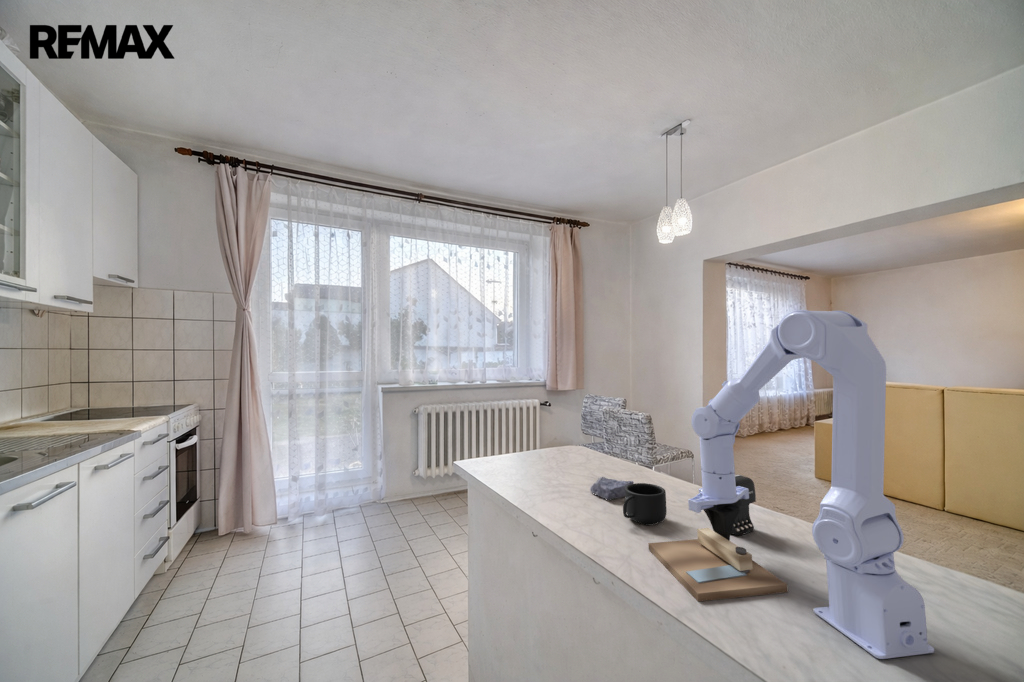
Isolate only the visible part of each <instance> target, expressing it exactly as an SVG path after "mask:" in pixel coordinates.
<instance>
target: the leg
mask: <svg viewBox="0 0 1024 682" xmlns="http://www.w3.org/2000/svg"><path fill="white" fill-rule="evenodd" d="M696 532H697V539H698V542H699V543H701V544H702V545H703V546H705V547H706V548H708V549H709V550H711V551H712V552H713V553H715V554H716V555H718V556H719V557H721V558H722V559H723V560H725V561H726V562H728V563H729V564H731V565H732V566H734V567H735V568H736V569H738V570H739V571H744V570H751V569H753V566H752V560H753V556H752V555H753V554H751V553H750V552H749V551H747V549H746V548H745V547H742V546H738V545H737V544H735V543H734V542H732V541H729V540H727V539H726V538H724V537H723V536H721V535H719V534H718V533H716V532H714V531H713V529H711V528H710V527H704V528H702V527H701V528H697V531H696Z"/></svg>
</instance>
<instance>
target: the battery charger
mask: <svg viewBox="0 0 1024 682" xmlns="http://www.w3.org/2000/svg"><path fill="white" fill-rule="evenodd" d="M735 482H736V487H737V486H741V487H744V488H748V490H749V499H743V498H742V499H739V500H738V501H737V502H735V503H732V504H733V505H736V506H739V509H740V512H739V514H738V515H737V517H736V519H735V521H734V523H733V526H732V530H731V534H730V535H733V536H734V535H735V536H741V535H745V534H749V533H750V532H753V531H754V530H755V525H754V524H753V522H752V520H751V515H750V504H754V503H756V502H757V500H756V499H757V497H756V488H755V483H754V481H753V480H752V478H750V477H748V476H744V475H742V474H735Z"/></svg>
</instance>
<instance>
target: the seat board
mask: <svg viewBox="0 0 1024 682" xmlns="http://www.w3.org/2000/svg"><path fill="white" fill-rule="evenodd" d="M648 550H649V552H651V553H652V555H653V556H654V557H656V559H657V560H658V561H659V562H660V563H661V564H662V565H663V566H664V568H666V570H667V571H669V573H671V575H672V576H674V578H675V579H676V580H677V581H678V582H679V583H680V584H681V585H682V586H683V587H684V588H685V589H686V591H688V592H689V594H690V595H691V596H693V598H695V600H696V601H697V602H706V601H716V600H717V601H718V600H725V599H733V598H734V599H735V598H745V597H753V596H754V597H755V596H764V595H775V594H782V593H783V594H785V593H788V591H789V590H788V584H787V583H786V582H784V581H783V580H782V579H780V578H779V577H777V576H776V575H775V574H773V573H772V572H770V571H769V570H767V569H766V568H765V567H763V566H761V564H760V563H757V561H755V560H754V559H752V566H753V569H751V570H744V571H739V570H738V569H736V568H735V567H734V566H732V565H731V564H729V563H728V562H726V561H725V560H723V559H722V558H721V557H719V556H718V555H716V554H715V553H713V552H712V551H711V550H709V549H708V548H706V547H705V546H703V545H702V544H701V543H699V542H698V538H696V539H694V538H693V539H685V540H684V539H682V540H671V541H659V542H649V543H648Z"/></svg>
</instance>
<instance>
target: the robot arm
mask: <svg viewBox="0 0 1024 682" xmlns="http://www.w3.org/2000/svg"><path fill="white" fill-rule="evenodd" d="M868 326H869V325H868V324H867V323H866V322H865V321H863V320H861V319H860V318H858V317H857V316H856V315H853V314H851V312H847V311H844V310H831V311H829V310H809V309H795V310H792V311H790V312H788V313H786V314H785V315H784V316H783V317H782V318H781V320H780V321H779V324H777V325H776V326H774V327H773V328H772V329H771V331H770V337H769V340H768V341H767V342H766V344H765V345H764V346H763V348H762V349H761V351H759V353H758V354H757V356H756V357H755V358H754V360H752V362H751V364H750V365H749V366H748V368H747V369H746V370H745V371H744V373H743V374H742V375H741V377H740V378H739V377H738V378H736V377H734V378H730V379H729V380H725V381H723V383H722V384H721V386H722V388H721V389H720V390H719V391H718V393H717V394H716V395H715V396H714V397H713V398H711V399H709V401H708V404H707V405H706V406H702V407H700V406H699V407H697V408H695V409H694V412H693V413H692V416H691V427H692V429H693V431H694V433H695V434H696V436H698V439H699V452H700V453H699V455H700V468H701V469H700V470H701V471H700V472H701V486H702V487H700V488H698V494H696V495H695V496H693V497H691V498H688V499H687V502H688V503H687V504H688V510H689V511H690V512H691V511H692V512H694V513H695V514H701V513H702V511H703V512H704V514H705V515H706V516H707V518H708V520H709V523H710V525H711V527H712V530H713V531H714V532H716V533H718V534H719V535H721V536H723V537H724V538H726V539H727V540H729V541H730V540H731V535H732V534H731V530H732V526H733V523H734V521H735V519H736V517H737V515H738V514H739V512H740V509H739V506H736V505H733V504H732V503H735V502H737V501H738V500H739V499H742V498H743V499H749V490H748V488H744V487H741V486H737V487H736V482H735V475H736V471H735V469H736V468H735V455H734V454H735V453H734V445H735V443H736V434H737V433H738V431H739V429H740V427H741V426H740V425H741V423H740V422H741V420H743V418H744V417H746V415H747V414H748V413H749V412H750V411H751V410H752V409H753V408H754V407H755V406H756V405H757V404H759V402H760V400H761V396H760V390H761V389H762V388H763V387H764V386H766V384H768V383H769V382H770V381H771V380H772V379H773V378H775V376H776V375H777V374H779V373H780V372H781V371H782V370H783V369H784V368H785V367H787V365H789V364H790V363H791V362H792V361H793V360H794V361H795V360H798V359H802V358H805V359H808V360H810V361H813V362H815V363H816V364H818V365H819V366H820V367H821V368H822V369H824V370H825V371H826V372H827V373H829V374H830V375H831V376H832V377H833V378H832V379H833V383H832V384H833V386H832V428H831V429H832V431H831V432H832V433H831V435H832V437H831V440H832V441H831V443H832V444H831V448H832V449H831V482H830V483H831V487H830V488H829V490H828V491H827V492H826V494H825V496H824V497H823V499H822V500H821V502H820V503H819V513H818V516H817V518H815V520H814V521H813V524H812V527H811V533H812V538H813V541H814V543H815V544H816V546H817V549H819V550H820V552H821V553H822V554H823V557H824V559H825V561H826V562H825V563H826V564H825V565H826V578H827V593H828V606H823V607H821V606H819V607H814V608H813V613H815V614H816V615H817V616H818V617H820V618H821V619H822V620H823V621H825V622H827V623H828V624H829V625H830V626H832V627H833V628H835V629H836V630H838V631H839V632H840V633H841V634H843V635H844V636H845V637H847V638H849V640H851V641H853V642H854V643H856V645H857V646H858V645H859V646H860V647H861V649H863V650H865V651H866V652H868V653H869V654H870V655H872V656H873V657H874V658H877V659H878V660H879V659H880V660H886V659H892V658H893V659H894V658H900V657H909V656H917V655H925V654H933V653H935V647H933V646H932V645H930V644H929V642H928V630H927V616H926V606H925V600H924V598H923V595H922V594H921V592H920V591H919V589H917V588H915V586H913V585H911V584H910V583H908V581H906V580H905V579H903V577H902V576H901V575H900V574H899V573H898V571H897V570H896V564H895V556H894V553H897V552H898V551H899V550H900V549H902V547H903V545H904V541H905V537H904V532H903V529H902V528H901V525H900V524H899V521H898V519H897V514H896V505H895V504H894V503H893V501H892V500H890V499H889V498H888V497H887V496H885V495H884V485H885V484H884V480H885V475H884V474H885V439H886V437H885V435H886V434H885V433H886V400H887V399H886V394H887V393H886V391H887V389H886V387H887V365H886V361H885V359H884V357H883V356H882V354H881V353H880V351H879V349H878V348H877V346H876V345H875V343H874V342H873V339H872V338H871V336H870V335H869V333H868Z"/></svg>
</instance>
